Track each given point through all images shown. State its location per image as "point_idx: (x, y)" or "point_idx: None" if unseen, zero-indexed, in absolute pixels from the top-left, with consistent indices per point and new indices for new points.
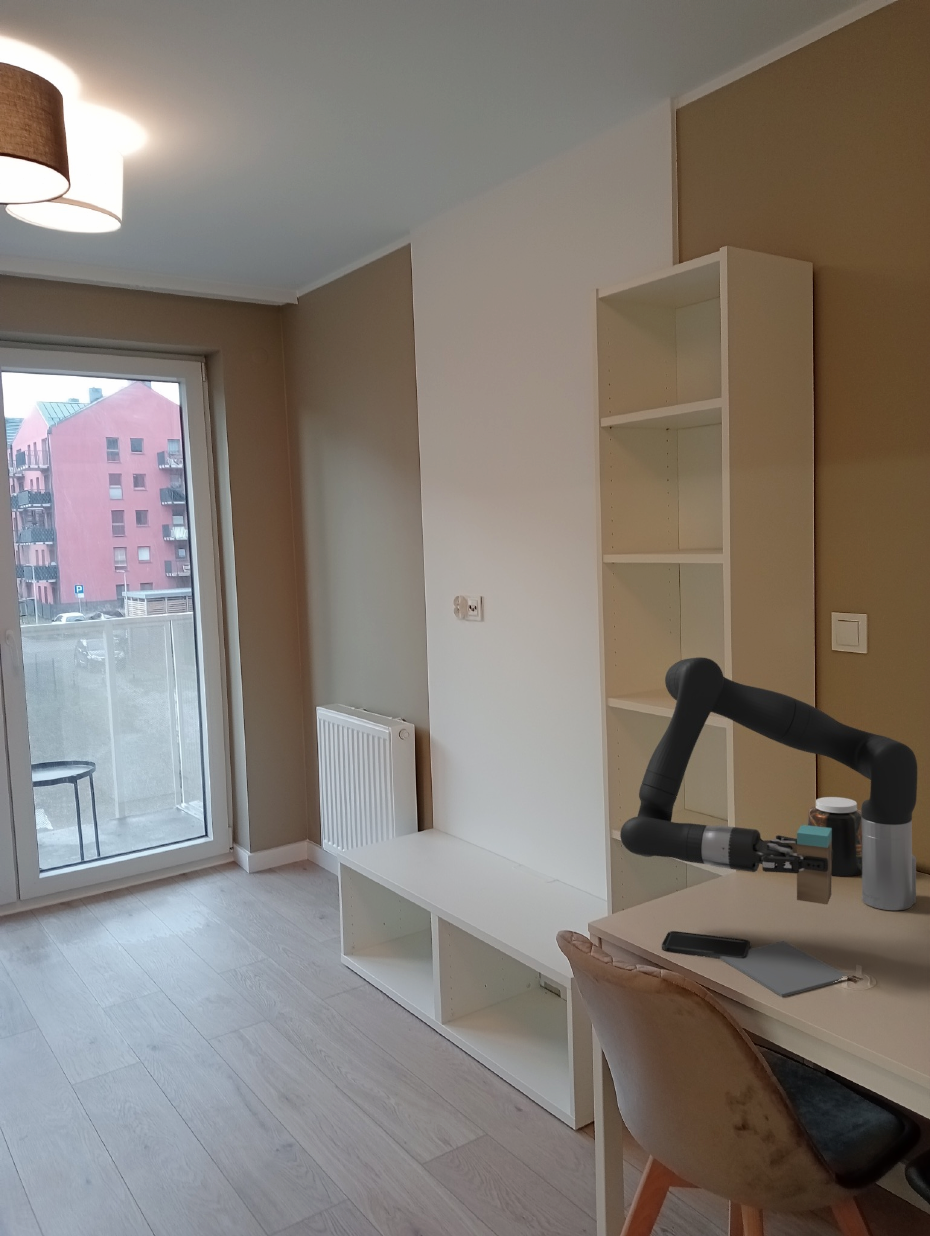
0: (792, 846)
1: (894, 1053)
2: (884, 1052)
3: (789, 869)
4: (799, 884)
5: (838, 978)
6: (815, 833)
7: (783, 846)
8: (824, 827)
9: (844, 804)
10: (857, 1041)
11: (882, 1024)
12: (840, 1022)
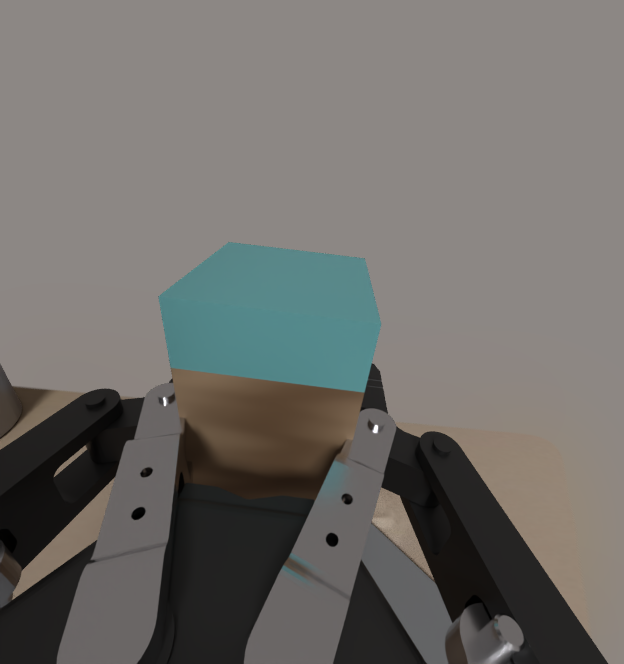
0: (182, 468)
1: (550, 459)
2: (560, 470)
3: (439, 518)
4: None
5: (376, 530)
6: (342, 275)
7: (187, 533)
8: (221, 250)
9: None
10: (567, 504)
11: (484, 468)
12: (533, 530)
